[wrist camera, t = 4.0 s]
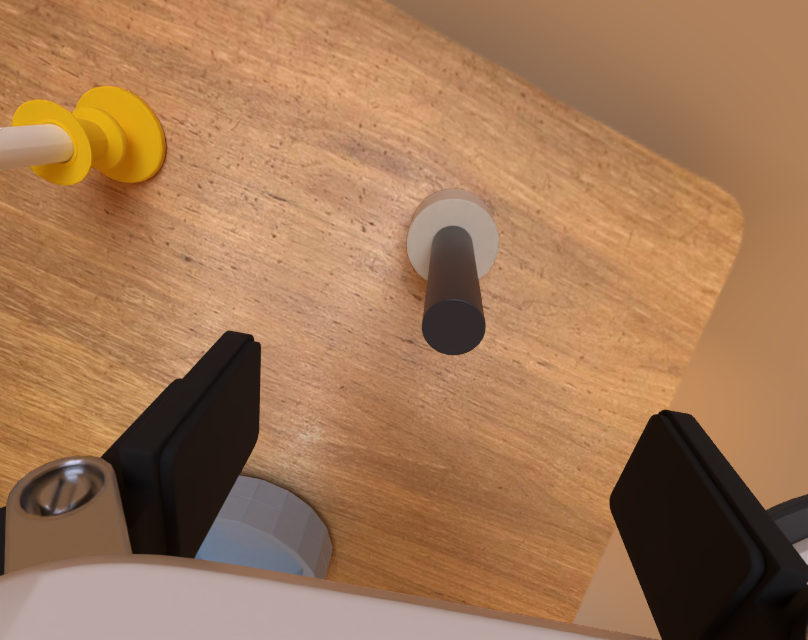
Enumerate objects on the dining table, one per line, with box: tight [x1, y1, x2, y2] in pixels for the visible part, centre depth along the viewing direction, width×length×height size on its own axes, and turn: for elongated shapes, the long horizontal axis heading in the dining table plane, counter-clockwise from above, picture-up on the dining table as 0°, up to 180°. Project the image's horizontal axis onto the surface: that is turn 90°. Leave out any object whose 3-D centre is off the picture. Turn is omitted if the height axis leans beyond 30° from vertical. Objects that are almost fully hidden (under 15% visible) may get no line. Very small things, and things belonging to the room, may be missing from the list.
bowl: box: [194, 475, 333, 580], centre depth 39 cm, size 15×15×5 cm
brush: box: [406, 189, 499, 355], centre depth 22 cm, size 5×5×13 cm
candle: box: [0, 86, 166, 186], centre depth 20 cm, size 5×5×16 cm
